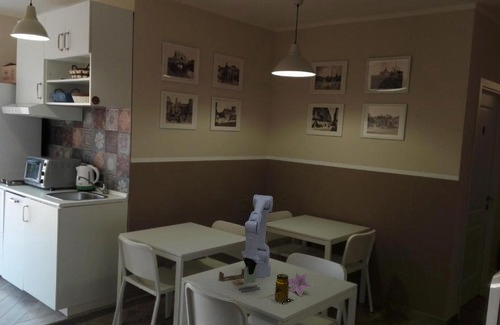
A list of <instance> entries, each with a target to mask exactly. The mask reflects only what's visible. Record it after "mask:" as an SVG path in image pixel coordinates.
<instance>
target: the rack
mask: <svg viewBox="0 0 500 325" xmlns="http://www.w3.org/2000/svg"><path fill="white" fill-rule="evenodd" d="M218 272H219V274H218V279H219V281H220V282H230V281H234V280H238V279H243V280H244V268H241V274H234V275H228V276H227V275H226V276H225V274H224V272H223V271H218Z"/></svg>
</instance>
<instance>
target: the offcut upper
mask: <svg viewBox="0 0 500 325" xmlns="http://www.w3.org/2000/svg"><path fill="white" fill-rule="evenodd" d="M231 282H232V283H233V284H232V283H231V284H232V285H234V284H235V285H238V286H243V285H242V284H244V279H237V280H231ZM235 285H234V286H235ZM244 285H245V284H244Z"/></svg>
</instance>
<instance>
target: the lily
mask: <svg viewBox="0 0 500 325" xmlns="http://www.w3.org/2000/svg"><path fill="white" fill-rule="evenodd" d="M308 275H309V272H305V273H302V274H301V275H300V274H299V272H297V271H295V272H294V277H291V278H288V281H289V286H291V287H290V290H289V292H290V293H294V292H296V293H297V294H298V296H299V297H300V296H302V297H303V292H304V289H307V288H310V287H311V285H310V284H309V283H308V282H306V280H307V278H308V277H309V276H308Z"/></svg>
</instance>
